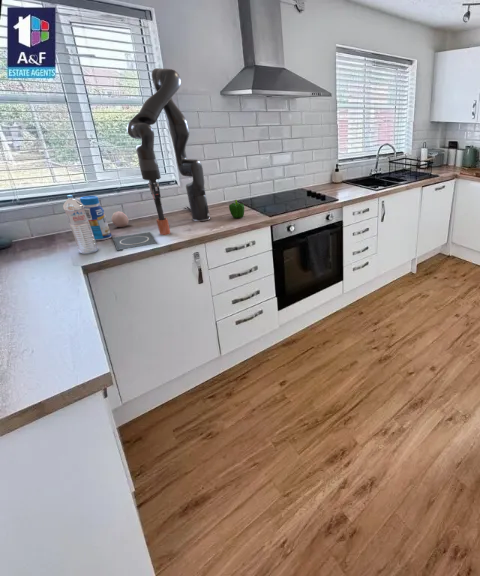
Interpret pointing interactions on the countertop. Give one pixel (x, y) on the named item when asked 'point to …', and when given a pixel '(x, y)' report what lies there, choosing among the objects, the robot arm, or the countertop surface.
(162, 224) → the pen pot
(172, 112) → the robot arm
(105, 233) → the blue lidded canister
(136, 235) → the slate board
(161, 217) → the marker
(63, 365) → the countertop surface
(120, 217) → the egg
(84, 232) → the water bottle
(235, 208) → the bell pepper
